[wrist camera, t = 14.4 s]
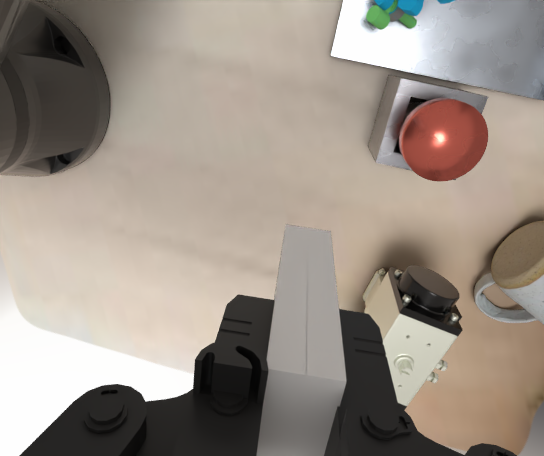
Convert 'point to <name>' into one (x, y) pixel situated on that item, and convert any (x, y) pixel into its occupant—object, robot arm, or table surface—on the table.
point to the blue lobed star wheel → (396, 12)
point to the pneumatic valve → (413, 324)
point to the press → (445, 56)
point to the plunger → (442, 138)
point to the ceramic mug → (517, 276)
